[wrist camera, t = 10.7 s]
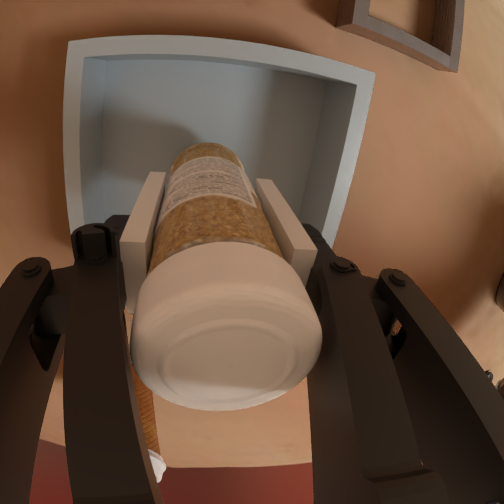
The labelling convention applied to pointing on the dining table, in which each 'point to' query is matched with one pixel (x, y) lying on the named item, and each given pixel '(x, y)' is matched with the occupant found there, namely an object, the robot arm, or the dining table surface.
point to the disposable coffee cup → (149, 424)
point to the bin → (209, 120)
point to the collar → (436, 55)
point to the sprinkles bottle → (219, 294)
